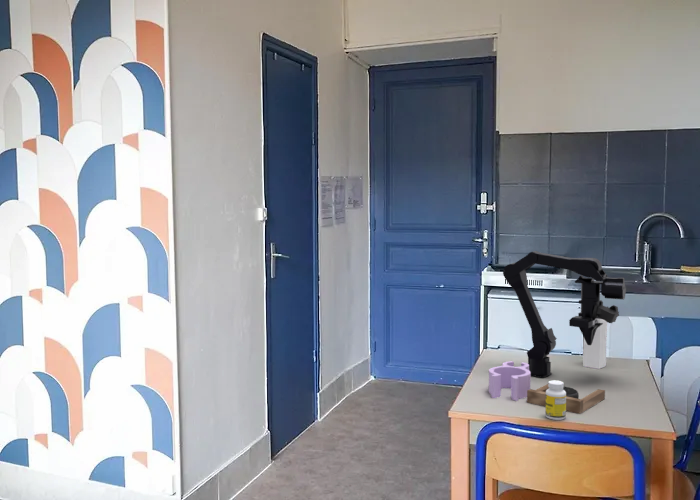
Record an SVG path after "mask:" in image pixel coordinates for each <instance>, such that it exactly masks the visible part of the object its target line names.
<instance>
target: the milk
mask: <svg viewBox="0 0 700 500" xmlns="http://www.w3.org/2000/svg"><path fill="white" fill-rule="evenodd" d="M597 321H599V323H603V324H602V325H601V326H599V327H598V328H597V330H596V332H595V335H594V339H593V342H592V345H587V343H586V341H585V339H584V336H583V340H582V341H583V344H582V350H583V351H582V367H584V368H590V369H596V370H601V369H603V368H604V367H606V366H607V340H608V339H607V335H608V334H607V333H608V322H606V321H605V320H603V319H597Z"/></svg>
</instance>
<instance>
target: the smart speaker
mask: <svg viewBox="0 0 700 500" xmlns="http://www.w3.org/2000/svg"><path fill="white" fill-rule="evenodd" d="M563 390H565V392H566V396H567V397H572V398H577V399H580V398H579V395H580V394H579V391H578V390H577V389H576V388H572V387H570V386H564V388H563Z"/></svg>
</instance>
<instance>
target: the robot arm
mask: <svg viewBox="0 0 700 500" xmlns="http://www.w3.org/2000/svg"><path fill="white" fill-rule="evenodd" d="M534 265H540V266H541V265H542V266H546V267H552V268H556V269H561V270H562V269H565V270H568V271H571V272H574V273H576V274H578V275H579V277H578V278H577V279H576V280H574V283H575V284H581V285H580V289H581V290H580V294H581V295H580V299H579V300H578V304H580V312H578V313H577V314H578V315H575V316H573V317H571V318H570V319H568V320H569V321H568V322H569V327H575V328H579V331H580V332H581V334H582V336H583V337H584V339H585V341H586V343H587V345H592V342H593V339H594V335H595V332H596V330H597V328H598V327H599V326H601V325H602V324H603V323H599V321H597V319H603V320H605V321H606V322H607V324H613V323H615V322H616V320H617V318H618V317H619V316H620V311H619V308H618V306H616V305H614V304H613V305H611V306H610V307H609V306H605V305H604V302H603V300H602V299H601V296H603V297H604V298H605V299H610V300H625V299H626V293H627V287H626V284H625V283H626V282H625V278H624V277H609V276H608V274H607V273H606V272H605V270H604V269H603V266H602V262H601V261H600V260H599V259H598V258H595V257H569V256H561V255H556V254H552V253H545V252H540V251H537V250H533V251H531V252H529V253H527V255H524V256H523V257H522V258H520V259H519V260H517V261H516V262H512V263H509V264H507V265H506V266H504V268H503V270H502V275H503V276H504V279H505V281H506V282H507V284H508V285H509V286H510V287H511V288H512V289H513V291H514V292H515V294H516V296H517V299H518V301H519V304H520V306H521V308H522V310H523V311H522V312H523V313H524V316H525V317H526V321H527V323H528V325H529V328H530V331H531V341H532V346H533V347H531V348H530V349H529V350H528V351H527V352H526V356H527V364H529V371H530V372H531V376H532V377H537V378H542V379H544V378H546V377H549V376H550V375H552V372H551V369H552V367H551V366H552V364H551V363H552V362H551V361H550V353H551V352H552V351H553V350H554V349H555V348H556V345H557V339H558V338H557V336H555V335H554V330H553V328H552V327H551V328H547V326H546V325H545V324H544V322H543V319H542V317H541V315H540V312H539V310H538V307H537V305H536V303H535V301H534V298H533V296H532V294H531V291H530V289H529V286H528V276H527V271H528V270H529V269H532V267H533V266H534Z"/></svg>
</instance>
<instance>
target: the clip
mask: <svg viewBox="0 0 700 500" xmlns="http://www.w3.org/2000/svg"><path fill="white" fill-rule="evenodd" d="M514 365H515V361H511V360H509V361H504V362H502V365H500V366H499V365H498V366H494V367H491V368H489V369H488V393H489V394H490V398H491V399H497V397H498V398H500V396H502V395H501V391H502V390H501V389H511V390H510V399H511V400H513V401H515V402H516V401H517V402H518V401H519V399H525V398H526V399H527V391H528V390H530V389H531V372H530V371H529V364H528V362H523V361H522V362H521V364H520V365H521V366H514Z"/></svg>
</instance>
